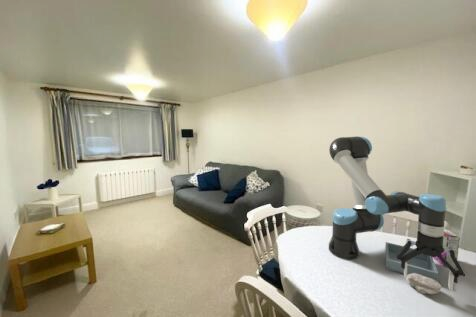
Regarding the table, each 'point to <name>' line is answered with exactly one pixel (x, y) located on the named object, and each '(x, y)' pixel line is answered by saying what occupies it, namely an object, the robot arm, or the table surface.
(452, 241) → the candy bar box
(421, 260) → the bin
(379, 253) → the table surface
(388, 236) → the table surface
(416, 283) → the fossil
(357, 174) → the robot arm
